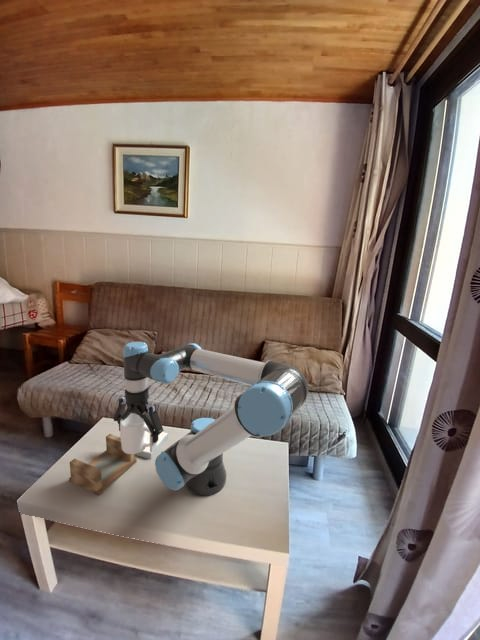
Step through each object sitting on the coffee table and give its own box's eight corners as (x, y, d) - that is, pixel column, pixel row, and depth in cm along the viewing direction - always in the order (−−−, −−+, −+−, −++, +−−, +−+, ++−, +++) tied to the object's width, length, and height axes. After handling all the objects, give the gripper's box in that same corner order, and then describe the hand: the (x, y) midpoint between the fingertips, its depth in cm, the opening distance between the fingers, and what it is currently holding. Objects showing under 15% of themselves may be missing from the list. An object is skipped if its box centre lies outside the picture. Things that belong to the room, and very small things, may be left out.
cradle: (136, 461, 118) (136, 443, 116) (99, 495, 102) (98, 474, 100) (108, 450, 123) (107, 433, 121) (69, 481, 107) (67, 461, 105)
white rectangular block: (167, 438, 134) (167, 432, 133) (151, 459, 120) (151, 453, 120) (147, 433, 136) (147, 428, 135) (128, 453, 123) (128, 447, 122)
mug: (146, 459, 102) (145, 431, 100) (116, 451, 105) (114, 424, 103) (160, 444, 110) (159, 417, 108) (131, 437, 113) (130, 411, 111)
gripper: (173, 391, 101) (174, 448, 106) (116, 376, 110) (119, 429, 115) (159, 401, 94) (160, 461, 100) (100, 384, 103) (103, 440, 108)
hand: (138, 444), depth 107 cm, fingers closed on mug, 12 cm apart
